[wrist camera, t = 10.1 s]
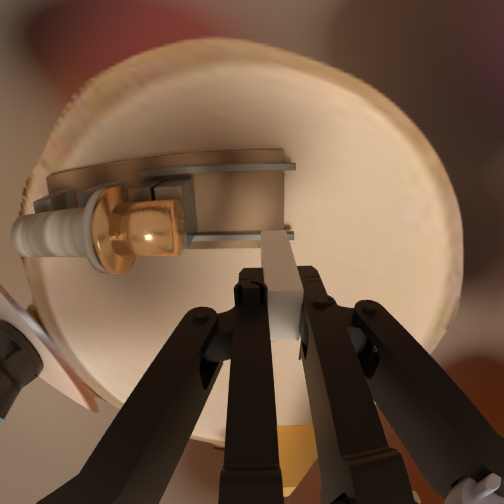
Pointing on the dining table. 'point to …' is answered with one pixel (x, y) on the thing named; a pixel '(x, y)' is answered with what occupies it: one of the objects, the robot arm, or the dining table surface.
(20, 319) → the dining table surface
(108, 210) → the coupling
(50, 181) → the pipe jig
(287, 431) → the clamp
